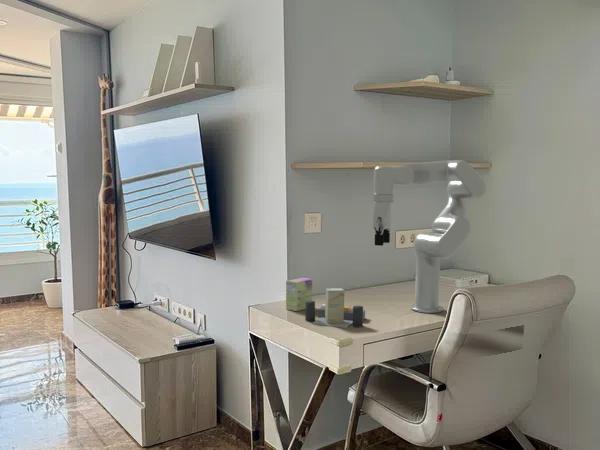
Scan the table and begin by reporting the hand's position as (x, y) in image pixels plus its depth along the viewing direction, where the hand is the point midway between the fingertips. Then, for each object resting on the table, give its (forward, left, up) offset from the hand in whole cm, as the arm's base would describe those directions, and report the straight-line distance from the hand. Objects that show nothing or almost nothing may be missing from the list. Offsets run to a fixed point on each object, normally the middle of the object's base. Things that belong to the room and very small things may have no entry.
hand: (382, 244), depth 211 cm
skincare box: (+16, -13, -28) cm, 35 cm away
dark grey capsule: (+16, -4, -28) cm, 33 cm away
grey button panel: (+12, -14, -28) cm, 34 cm away
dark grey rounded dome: (+16, -23, -28) cm, 40 cm away
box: (0, -34, -29) cm, 44 cm away
